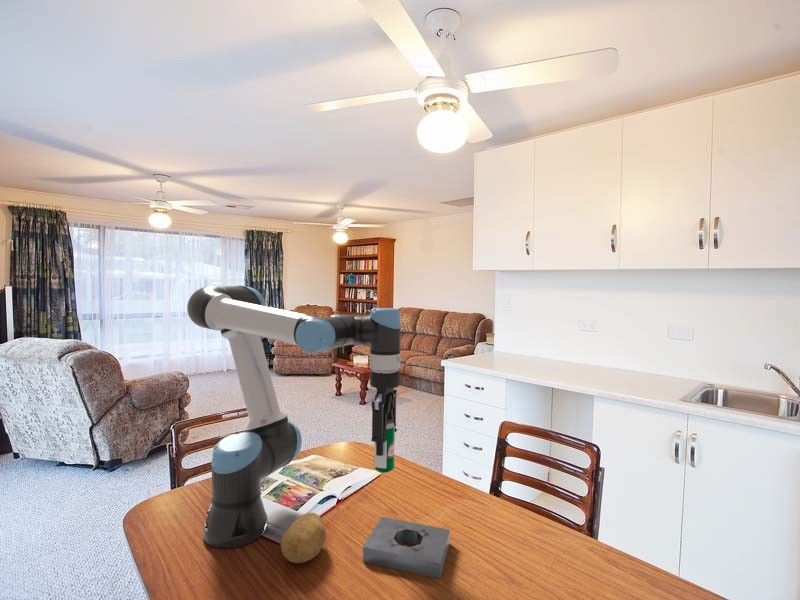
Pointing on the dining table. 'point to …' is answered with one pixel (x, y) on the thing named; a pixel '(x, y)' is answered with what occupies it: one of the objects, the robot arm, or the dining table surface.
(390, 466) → the soda can
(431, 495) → the dining table surface
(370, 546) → the plate
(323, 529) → the potato
